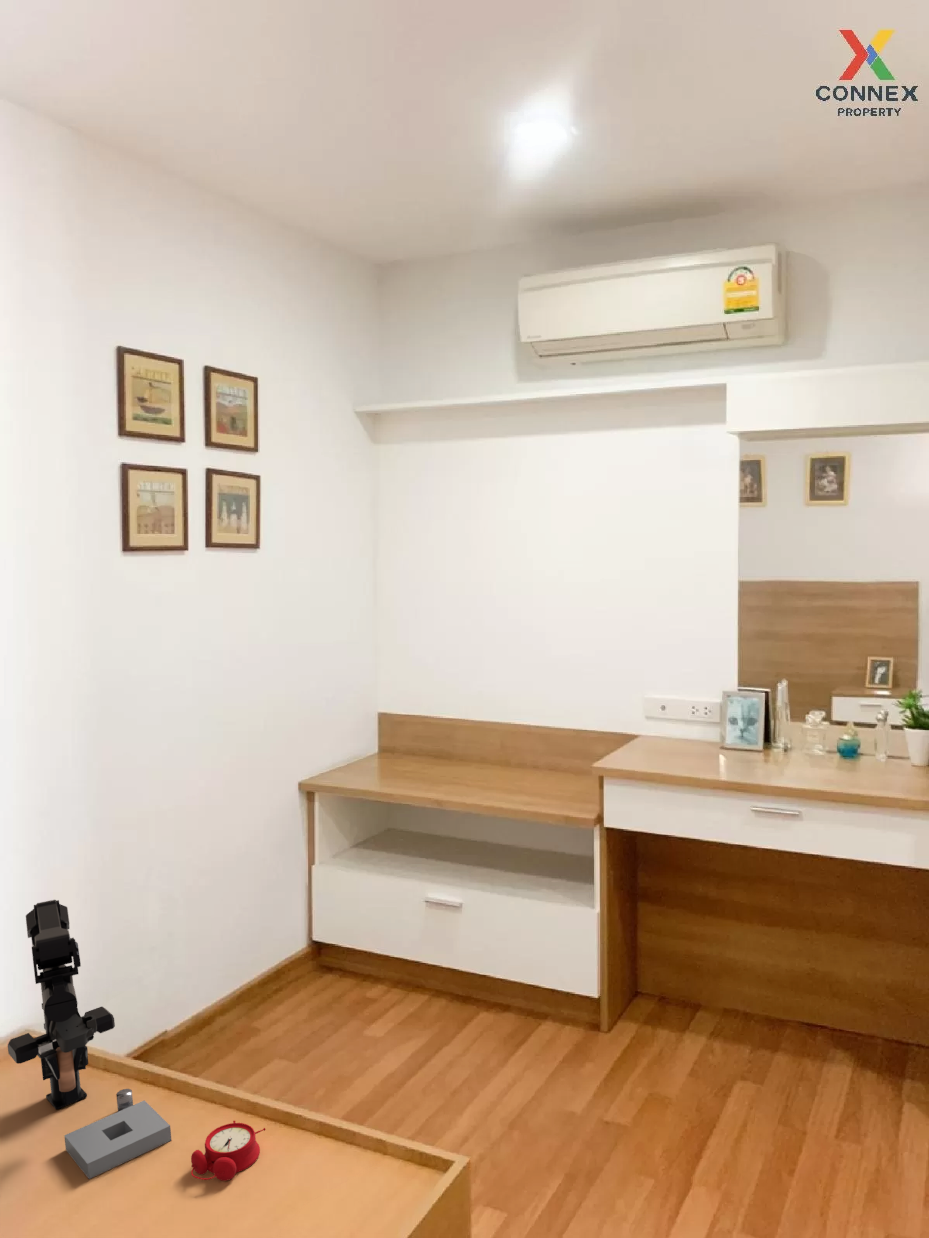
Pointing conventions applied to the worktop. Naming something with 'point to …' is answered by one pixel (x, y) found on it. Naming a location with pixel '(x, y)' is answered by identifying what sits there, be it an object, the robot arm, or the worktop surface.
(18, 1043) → the robot arm
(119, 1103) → the short stub
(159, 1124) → the block
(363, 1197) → the worktop surface
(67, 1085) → the long dowel
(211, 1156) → the alarm clock
